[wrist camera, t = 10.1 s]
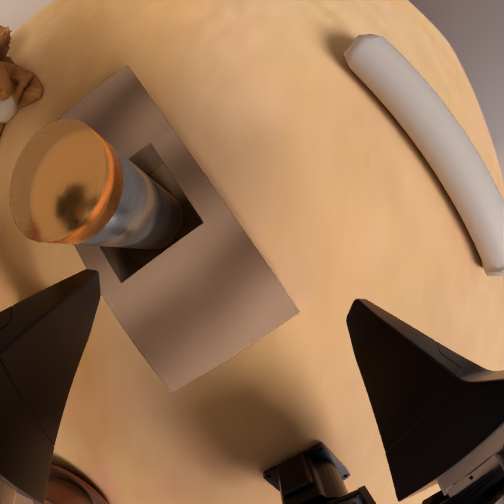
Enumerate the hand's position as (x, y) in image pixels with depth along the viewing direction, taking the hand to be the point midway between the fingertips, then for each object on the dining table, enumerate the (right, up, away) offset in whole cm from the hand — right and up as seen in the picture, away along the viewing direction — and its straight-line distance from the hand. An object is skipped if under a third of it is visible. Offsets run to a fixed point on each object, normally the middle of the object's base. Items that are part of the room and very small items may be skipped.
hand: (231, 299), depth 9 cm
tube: (+17, +11, +13) cm, 24 cm away
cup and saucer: (-22, -29, +11) cm, 38 cm away
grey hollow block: (-7, +4, +12) cm, 14 cm away
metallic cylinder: (-7, +4, +12) cm, 14 cm away
